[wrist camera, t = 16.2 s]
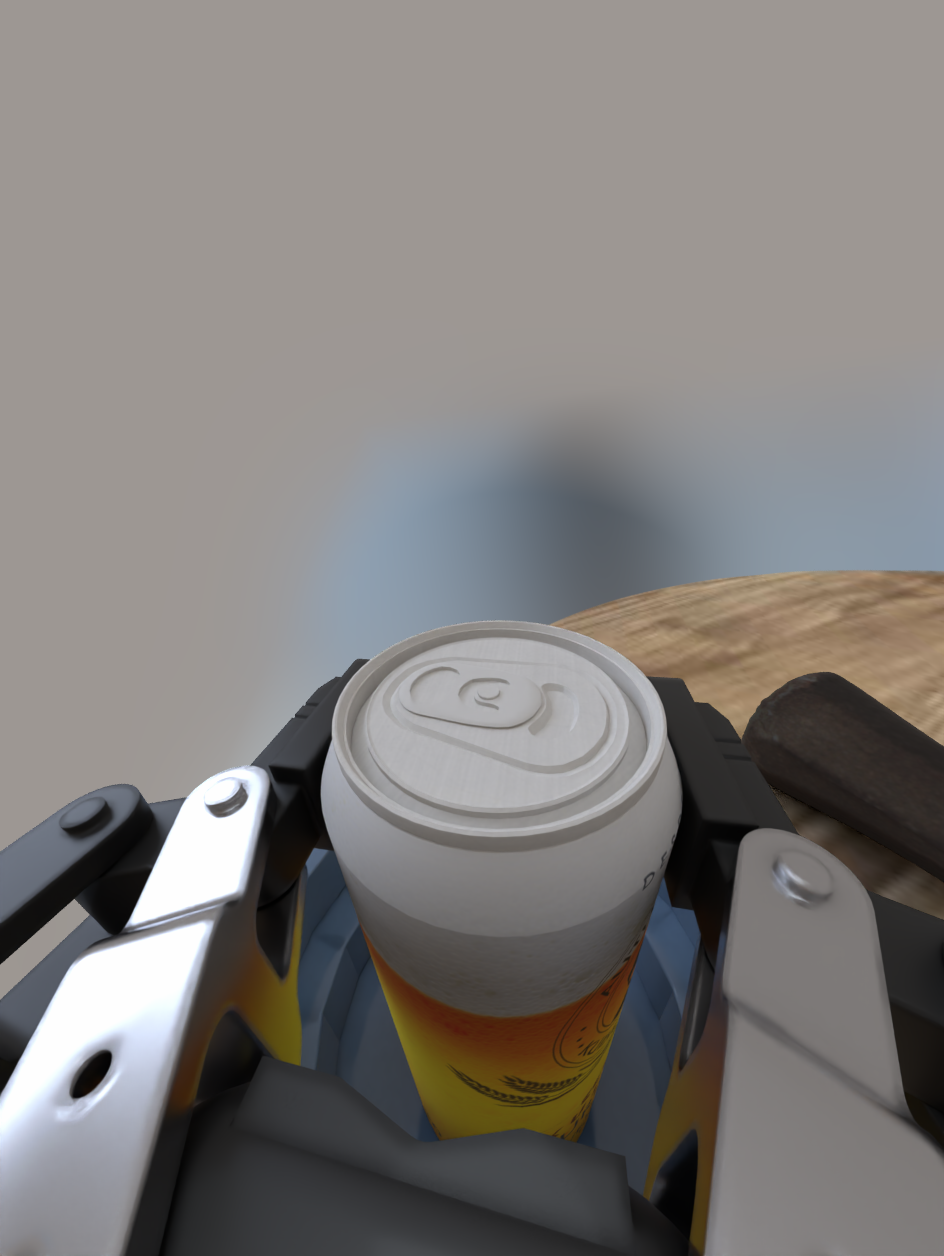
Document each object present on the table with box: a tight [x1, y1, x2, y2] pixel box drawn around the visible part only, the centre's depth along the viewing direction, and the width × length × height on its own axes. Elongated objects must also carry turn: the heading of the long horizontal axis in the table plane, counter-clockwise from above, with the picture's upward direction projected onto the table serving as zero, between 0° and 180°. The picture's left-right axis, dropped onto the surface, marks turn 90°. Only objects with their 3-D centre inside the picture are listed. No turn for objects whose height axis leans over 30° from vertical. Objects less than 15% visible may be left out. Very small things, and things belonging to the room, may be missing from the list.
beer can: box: [321, 621, 683, 1142], centre depth 10 cm, size 6×6×15 cm
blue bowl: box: [298, 848, 700, 1196], centre depth 12 cm, size 15×15×6 cm
